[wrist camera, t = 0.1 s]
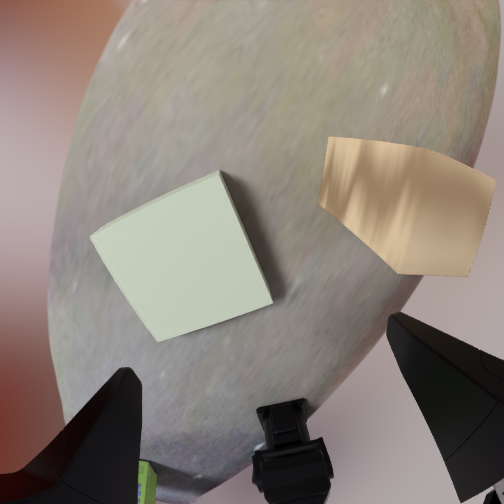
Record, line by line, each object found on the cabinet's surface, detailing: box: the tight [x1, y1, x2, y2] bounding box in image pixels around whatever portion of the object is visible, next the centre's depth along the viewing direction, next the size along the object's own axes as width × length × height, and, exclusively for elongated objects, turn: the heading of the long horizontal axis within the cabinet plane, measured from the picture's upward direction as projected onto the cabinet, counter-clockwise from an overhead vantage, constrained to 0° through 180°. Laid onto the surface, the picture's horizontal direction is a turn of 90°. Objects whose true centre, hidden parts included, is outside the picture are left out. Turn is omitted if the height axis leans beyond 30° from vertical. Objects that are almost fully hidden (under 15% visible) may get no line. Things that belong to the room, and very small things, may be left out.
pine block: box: [318, 137, 496, 277], centre depth 16 cm, size 6×6×12 cm
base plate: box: [90, 170, 273, 342], centre depth 21 cm, size 11×11×2 cm
